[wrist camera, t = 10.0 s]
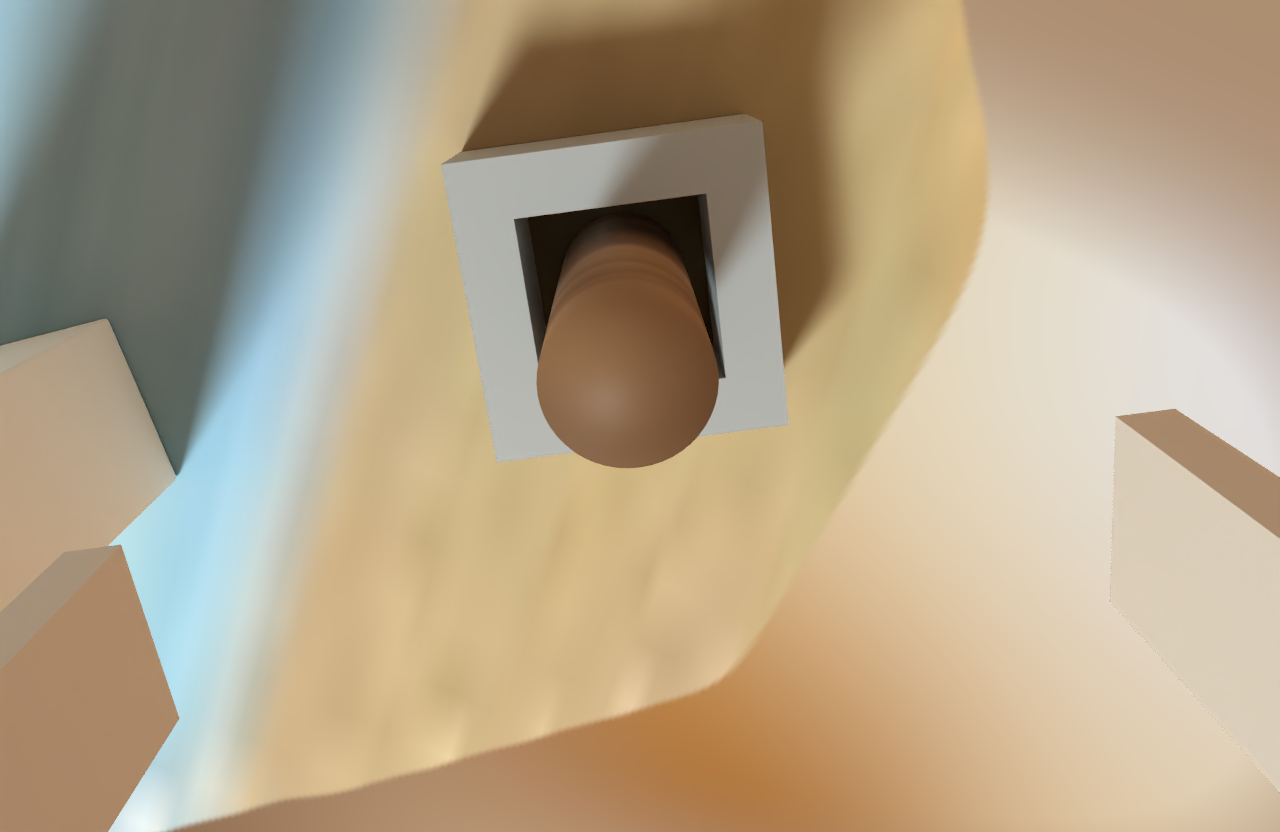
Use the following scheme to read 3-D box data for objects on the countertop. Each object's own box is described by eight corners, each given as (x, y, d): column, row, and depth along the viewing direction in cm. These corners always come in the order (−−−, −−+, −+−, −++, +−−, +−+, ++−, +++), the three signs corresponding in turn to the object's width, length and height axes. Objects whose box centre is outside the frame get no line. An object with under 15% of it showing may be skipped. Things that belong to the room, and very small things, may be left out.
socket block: (461, 151, 33) (440, 164, 29) (745, 113, 32) (762, 121, 29) (509, 419, 36) (496, 462, 32) (769, 385, 35) (788, 424, 32)
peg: (553, 221, 33) (522, 307, 22) (676, 204, 33) (708, 282, 22) (572, 340, 35) (551, 478, 23) (690, 324, 35) (727, 455, 23)
